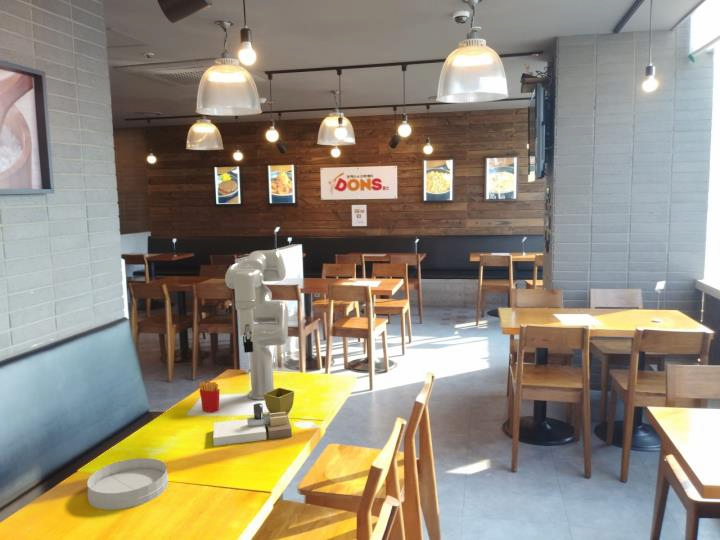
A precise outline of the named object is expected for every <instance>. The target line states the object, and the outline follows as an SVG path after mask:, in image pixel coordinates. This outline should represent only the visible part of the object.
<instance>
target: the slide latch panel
mask: <svg viewBox="0 0 720 540" xmlns="http://www.w3.org/2000/svg"><path fill="white" fill-rule="evenodd" d="M271 415H281V416H280V417H271V418H270V424H269V425H261V426H253V427H248V422H247V418H243V419H235V420H228V421H218V422H214V423H213V437H212V438H213V439H212V440H213V447H219V446H226V444H227V445H233V444H234V443H235V444H241V443H250V442H258V441H259V442H260V441H267V434H268V438H269V439H268V440H274V439H280V438H281V439H284V438H289V437H293V434H292V426H291V425H292V424H291V422H290V420H289V416H288V414H286V412H278V413H270V412H269V413H268V416H271ZM266 429H267V430H266Z"/></svg>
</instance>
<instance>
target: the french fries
mask: <svg viewBox="0 0 720 540" xmlns="http://www.w3.org/2000/svg"><path fill="white" fill-rule="evenodd" d="M198 387H199V395H200V401H201V408H202V412H204V413H213V414H214V413H217V412H218V411H219V410H220V389H219V384H218V383H217V382H215V381H213V382H211V381H207V382H205V381H200V382H199V383H198Z"/></svg>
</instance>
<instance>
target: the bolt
mask: <svg viewBox="0 0 720 540" xmlns="http://www.w3.org/2000/svg"><path fill="white" fill-rule="evenodd" d="M280 416H281V415H271V416H269V415H265V416H264V411H263V403H260V402H258V403H255V404H253V417H247V418H246V419H247V422H248V427H253V426H261V425H265V426H267V425H269V424H270V418H271V417H280Z"/></svg>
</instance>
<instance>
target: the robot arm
mask: <svg viewBox="0 0 720 540" xmlns="http://www.w3.org/2000/svg"><path fill="white" fill-rule="evenodd" d="M286 270H287V269H286V266H285V263H284V259H283V256H282V254H281V253H280V252H279V251H278V250H274V249H271V250H270V249H269V250H268V249H267V250H255V251H252V252H250V254H249V255H248V256H247V258H246V259H244V260H242V261H239V262H237V263H234V264H231V265H230V266H229V267H228V269H227V271H226V273H225V277H224V281H225V284H226V287H228V288H229V289H234V299H235V300H234V302H235V304H234V305H235V310H236V311H238V325H239V326H238V327H239V328H238V330H239V336H240V337H242V341H243V343H242V344H243V345H242V346H243V348H244V349H243V351H244V353H249V365H250V382H251V384H250V385H251V391H249V392H248V395H247V397H248V398H249V399H251V400H255V401H256V400H257V401H262V400H263V401H264V400H265V399H264V393H267V392H269V391H272V390H274V389H275V388H274V387H275V386H274V369H273V368H274V366H273V354H272V352H271V351H270V349H269V348H268V347H269V346H283V345H285V344H287V341H288V337H289V336H288V335H289V308H288V304H287V303H286V302H285V301H282V300H273V299H272V298H273V297H272V296H273V294H272V290H271V289H270V288H269V287H268V286H267V285H266V284H265V283H264V282H280V281H284V279H285V278H286Z"/></svg>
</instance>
